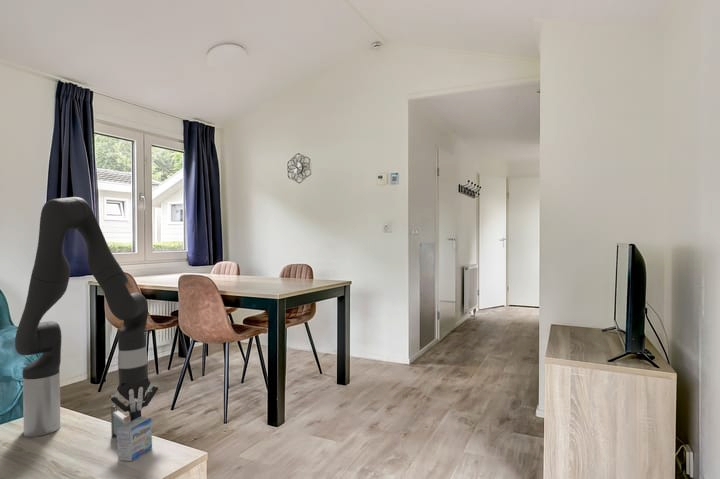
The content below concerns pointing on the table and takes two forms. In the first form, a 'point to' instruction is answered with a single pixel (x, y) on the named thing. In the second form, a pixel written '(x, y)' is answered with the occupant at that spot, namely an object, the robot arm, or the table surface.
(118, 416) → the gate
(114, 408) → the gate post
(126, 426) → the medicine box
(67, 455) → the table surface
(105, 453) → the table surface
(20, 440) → the table surface
